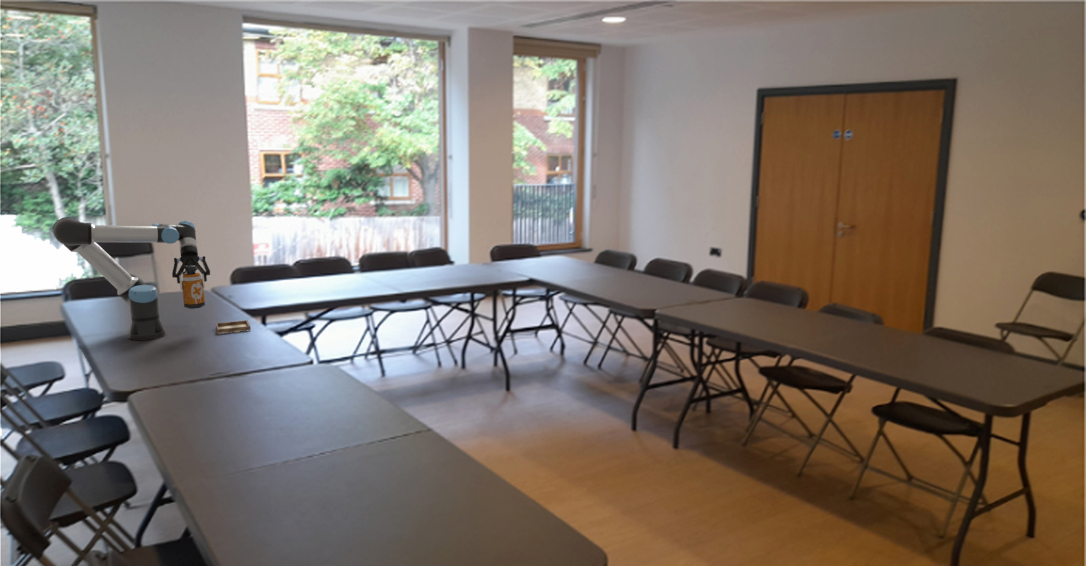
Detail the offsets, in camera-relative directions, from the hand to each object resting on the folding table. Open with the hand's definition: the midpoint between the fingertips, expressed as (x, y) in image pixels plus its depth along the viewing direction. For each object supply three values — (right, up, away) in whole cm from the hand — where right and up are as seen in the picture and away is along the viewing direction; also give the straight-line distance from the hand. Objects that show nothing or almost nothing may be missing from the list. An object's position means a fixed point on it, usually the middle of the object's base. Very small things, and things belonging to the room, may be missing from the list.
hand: (192, 287), depth 356 cm
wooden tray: (+13, -20, +13) cm, 28 cm away
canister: (-2, -9, +5) cm, 11 cm away
